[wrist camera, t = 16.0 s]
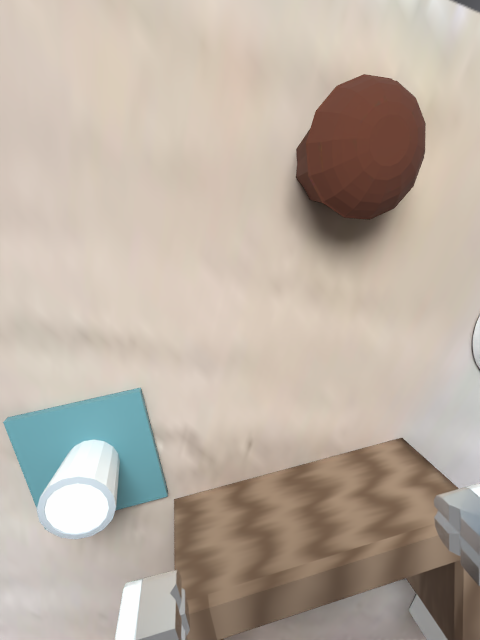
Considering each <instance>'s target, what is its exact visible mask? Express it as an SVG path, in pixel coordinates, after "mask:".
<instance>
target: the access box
mask: <svg viewBox="0 0 480 640" xmlns="http://www.w3.org/2000/svg"><path fill="white" fill-rule="evenodd" d="M457 489H459V488H457V487H456V486H455V485H454V484H453V483H452V482H451V481H450V480H449V479H447V478H446V477H445V476H444V475H443V474H442V473H441V472H440V471H438V470H437V469H436V468H435V467H434V466H433V465H432V464H431V463H430V462H428V461H427V460H426V459H425V458H424V457H423V456H422V455H421V454H420V453H418V452H417V451H416V450H415V449H414V448H413V447H412V446H411V445H409V444H408V443H407V442H406V441H405V440H404V439H403V438H399V439H396V440H392V441H388V442H385V443H381V444H377V445H373V446H370V447H366V448H362V449H359V450H355V451H351V452H348V453H344V454H340V455H337V456H333V457H329V458H325V459H322V460H318V461H314V462H311V463H307V464H303V465H300V466H296V467H292V468H289V469H285V470H281V471H277V472H274V473H270V474H266V475H263V476H259V477H255V478H252V479H248V480H244V481H241V482H237V483H233V484H229V485H226V486H222V487H218V488H215V489H211V490H207V491H204V492H200V493H196V494H193V495H189V496H185V497H181V498H178V499H174V559H175V570H179V572H180V575H181V578H182V588H183V589H184V590H185V592H186V596H187V601H188V607H189V617H190V631H189V632H188V634H187V639H188V640H224V638H226V637H229V636H232V635H235V634H238V633H241V632H244V631H247V630H250V629H253V628H256V627H259V626H262V625H266V624H269V623H272V622H275V621H278V620H281V619H284V618H287V617H290V616H293V615H296V614H299V613H302V612H305V611H308V610H311V609H314V608H317V607H320V606H323V605H326V604H329V603H332V602H335V601H338V600H341V599H344V598H347V597H350V596H353V595H356V594H359V593H362V592H365V591H368V590H371V589H374V588H377V587H380V586H383V585H386V584H389V583H392V582H395V581H398V580H401V579H404V578H406V579H407V580H408V582H409V583H410V585H411V586H412V588H413V589H414V591H415V592H416V594H417V595H418V596H419V598H420V599H421V601H422V602H423V604H424V605H425V607H426V608H427V610H428V611H429V613H430V614H431V616H432V617H433V619H434V620H435V622H436V623H437V625H438V626H439V628H440V629H441V631H442V632H443V634H444V635H445V637H446V638H447V640H480V586H478V585H477V583H476V582H475V581H474V580H473V579H472V577H471V576H470V575H469V574H468V573H467V571H466V570H465V569H464V568H463V567H462V566H461V562H460V556H458V555H456V554H454V553H452V552H450V551H449V550H448V549H447V547H446V546H445V545H444V544H443V542H442V541H441V539H440V537H439V535H438V533H437V530H436V528H435V520H434V517H435V515H436V514H437V512H438V510H437V509H436V507H435V506H434V498H435V497H436V496H437V495H440V494H443V493H447V492H450V491H453V490H457Z"/></svg>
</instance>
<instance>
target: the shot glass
mask: <svg viewBox="0 0 480 640" xmlns="http://www.w3.org/2000/svg"><path fill="white" fill-rule="evenodd" d="M119 463H120V462H119V456H118V453H117V451H116V450H115V449H114V447H113V446H111V445H110V444H108V443H106V442H105V441H99V440H88V441H83V442H81V443H79V444H77V445H76V446H74V447H73V448H72V450H71V451H70V452H69V453H68V455H67V456H66V458H65V459H64V461H63V462H62V464H61V465H60V467H59V469H58V470H57V472H56V473H55V475H54V476H53V478H52V479H51V481H50V482H49V484H48V485H47V487H46V489H45V490H44V492H43V493H42V495H41V496H40V499H39V503H38V506H37V513H38V517H39V521H40V523H41V524H42V525H43V526H44V527H45V528H46V529H47V530H48V531H49V532H51V533H53V534H55V535H57V536H59V537H61V538H69V539H80V538H85V537H90V536H92V535H94V534H96V533H98V532H100V531H102V530H103V529H104V528H105V527H106V526H107V525H108V524H109V523H110V522H111V520H112V519H113V516H114V513H115V509H116V502H117V489H118V476H119Z"/></svg>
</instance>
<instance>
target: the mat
mask: <svg viewBox="0 0 480 640" xmlns="http://www.w3.org/2000/svg"><path fill="white" fill-rule="evenodd" d="M3 423H4V425H5V428H6V431H7V433H8V436H9V438H10V441H11V443H12V446H13V448H14V451H15V454H16V456H17V459H18V461H19V464H20V466H21V469H22V472H23V474H24V477H25V479H26V482H27V484H28V487H29V490H30V492H31V495H32V497H33V500H34V502H35V505H36V507H37V506H38V503H39V499H40V496H41V495H42V493H43V492H44V490H45V489H46V487H47V485H48V484H49V482H50V481H51V479H52V478H53V476H54V475H55V473H56V472H57V470H58V469H59V467H60V465H61V464H62V462H63V461H64V459H65V458H66V456H67V455H68V453H69V452H70V451H71V450H72V448H73V447H74V446H76V445H77V444H79V443H81V442H83V441H88V440H99V441H105V442H106V443H108V444H110V445H111V446H113V447H114V449H115V450H116V451H117V453H118V456H119V462H120V463H119V476H118V489H117V502H116V509H115V510H119V509H123V508H126V507H130V506H134V505H138V504H141V503H145V502H149V501H152V500H156V499H160V498H164V497H167V496H168V490H167V486H166V482H165V478H164V475H163V471H162V467H161V463H160V459H159V456H158V452H157V448H156V444H155V440H154V436H153V433H152V429H151V425H150V421H149V417H148V413H147V410H146V406H145V402H144V398H143V394H142V391H141V388H137V389H133V390H128V391H124V392H119V393H115V394H110V395H106V396H101V397H97V398H93V399H88V400H84V401H79V402H75V403H70V404H66V405H61V406H57V407H52V408H48V409H44V410H39V411H35V412H30V413H26V414H21V415H17V416H12V417H8V418H7V419H6V420H5V421H4V422H3ZM44 528H45V527H44ZM45 529H46V528H45Z"/></svg>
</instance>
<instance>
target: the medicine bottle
mask: <svg viewBox="0 0 480 640" xmlns="http://www.w3.org/2000/svg"><path fill="white" fill-rule="evenodd" d="M409 612H410V614H411V615H412V617H413V619H414V620H415V622H416V623H417V625H418V627H419V628H420V630H421V631H422V633H423V635H424V636H425V638H426V640H447V638H446V637H445V635H444V634H443V632H442V631H441V629H440V628H439V626H438V625H437V623H436V622H435V620H434V619H433V617H432V616H431V614H430V613H429V611H428V610H427V608H426V607H425V605H424V604H423V602H422V601H421V599H420V598H419V596H418V595H417V594H416V596H415V598H414V600H413V602H412V604H411V606H410V608H409Z"/></svg>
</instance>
